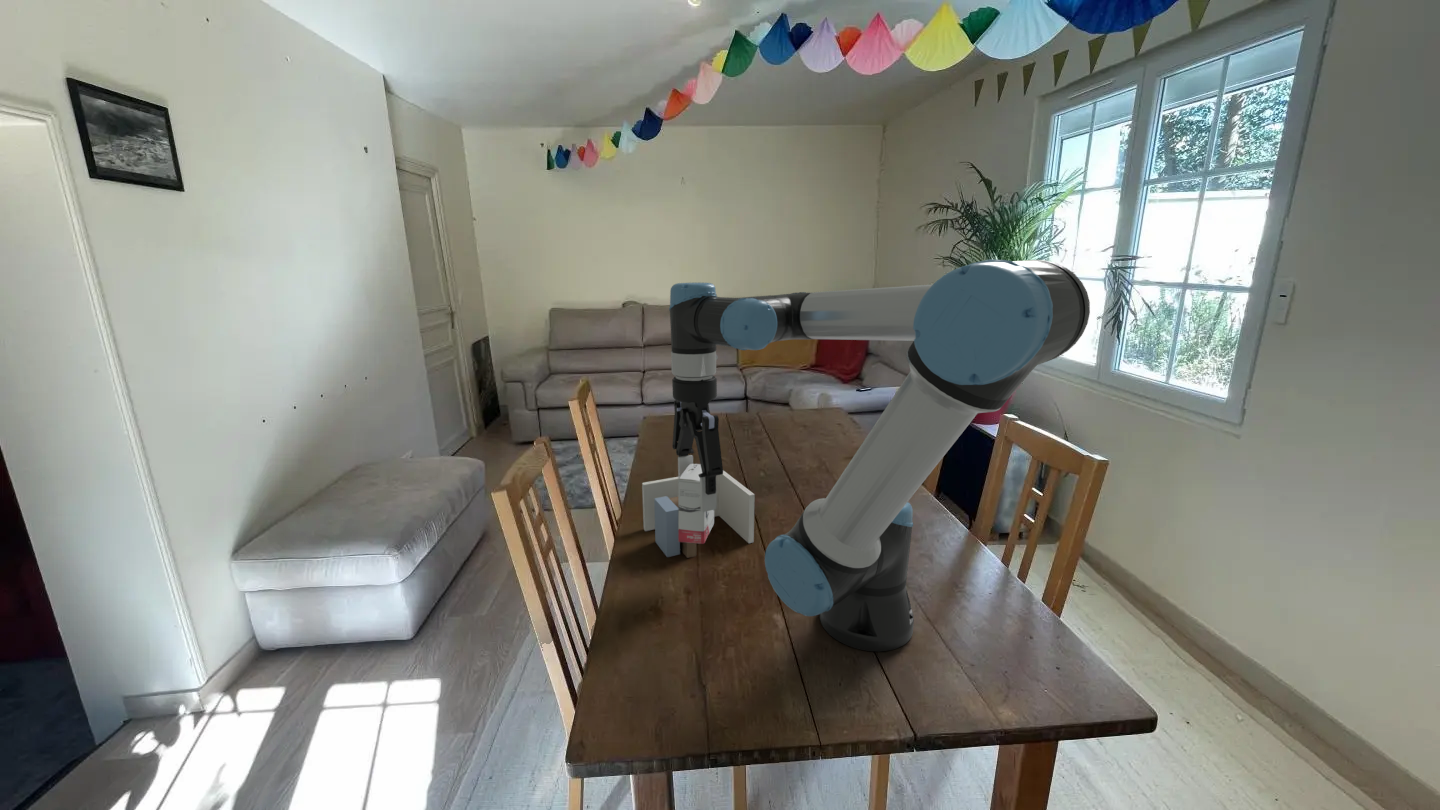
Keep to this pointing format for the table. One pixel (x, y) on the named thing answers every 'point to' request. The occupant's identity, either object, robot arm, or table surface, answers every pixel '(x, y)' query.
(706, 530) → the ink box
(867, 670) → the table surface
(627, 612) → the table surface
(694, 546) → the bookend
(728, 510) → the white corner wall
